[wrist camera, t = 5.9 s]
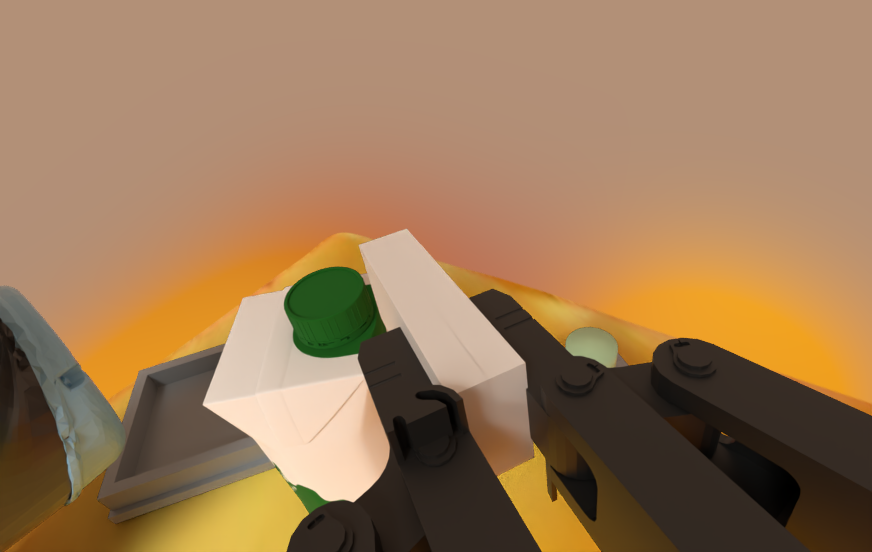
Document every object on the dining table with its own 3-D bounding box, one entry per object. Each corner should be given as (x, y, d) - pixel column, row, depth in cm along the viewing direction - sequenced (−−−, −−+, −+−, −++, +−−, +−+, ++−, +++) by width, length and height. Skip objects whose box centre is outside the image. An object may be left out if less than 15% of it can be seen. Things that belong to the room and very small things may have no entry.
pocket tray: (115, 524, 36) (91, 507, 34) (154, 386, 47) (137, 368, 45) (468, 399, 39) (463, 378, 37) (425, 299, 50) (420, 278, 49)
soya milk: (444, 545, 30) (369, 350, 18) (315, 567, 31) (153, 390, 18) (433, 431, 37) (373, 233, 25) (328, 450, 38) (216, 264, 25)
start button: (580, 392, 32) (582, 371, 31) (556, 357, 35) (556, 336, 34) (625, 376, 33) (628, 354, 31) (597, 342, 36) (599, 321, 34)
